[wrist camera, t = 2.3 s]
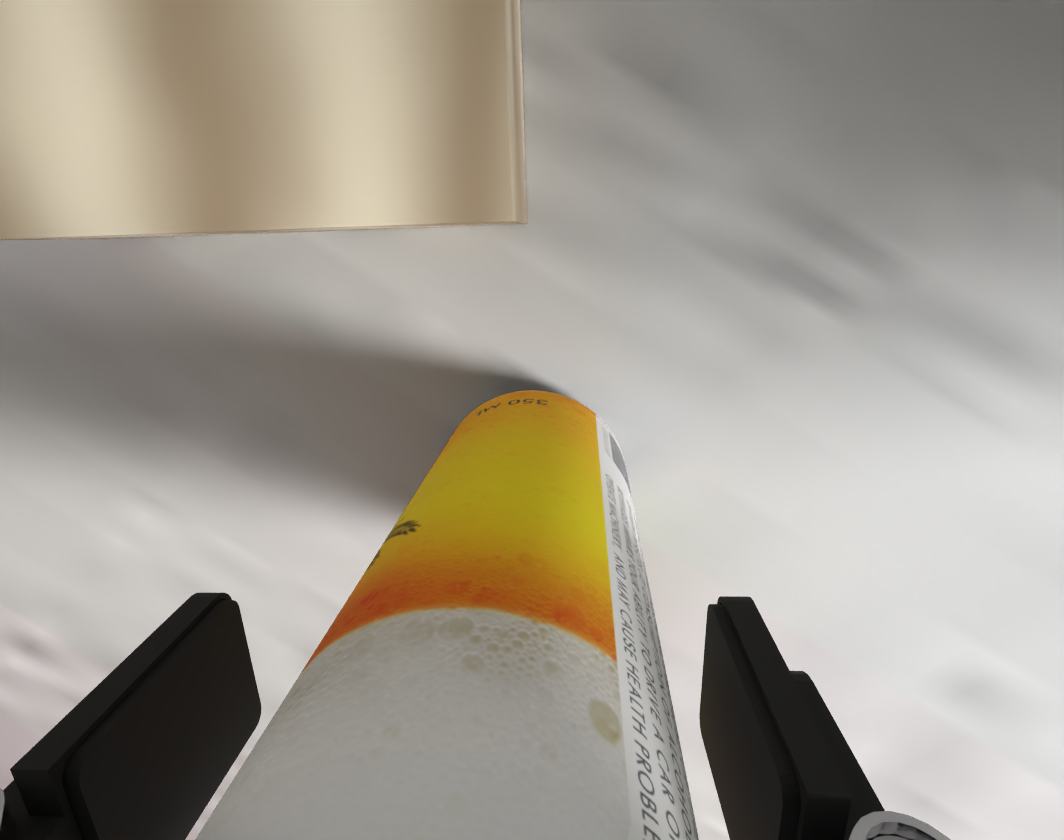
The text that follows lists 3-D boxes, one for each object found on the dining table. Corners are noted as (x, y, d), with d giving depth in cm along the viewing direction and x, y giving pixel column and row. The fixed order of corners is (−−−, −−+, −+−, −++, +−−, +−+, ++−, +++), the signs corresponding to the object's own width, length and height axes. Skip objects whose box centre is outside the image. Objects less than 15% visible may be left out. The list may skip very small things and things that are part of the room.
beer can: (415, 435, 19) (-34, 985, 5) (570, 351, 18) (536, 784, 4) (504, 571, 21) (343, 1295, 7) (654, 502, 19) (857, 1229, 5)
